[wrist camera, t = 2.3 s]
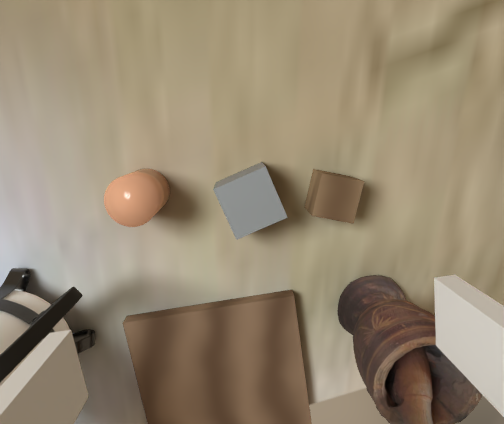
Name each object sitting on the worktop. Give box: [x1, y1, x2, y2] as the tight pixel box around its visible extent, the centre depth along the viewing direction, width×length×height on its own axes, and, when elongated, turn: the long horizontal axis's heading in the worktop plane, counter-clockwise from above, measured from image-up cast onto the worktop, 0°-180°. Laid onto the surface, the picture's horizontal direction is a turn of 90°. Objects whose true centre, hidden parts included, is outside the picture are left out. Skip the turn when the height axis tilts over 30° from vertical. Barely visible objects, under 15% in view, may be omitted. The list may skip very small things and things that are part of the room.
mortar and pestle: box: [338, 275, 482, 424], centre depth 31 cm, size 12×9×20 cm
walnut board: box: [123, 290, 312, 424], centre depth 41 cm, size 18×16×2 cm
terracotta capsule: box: [104, 169, 170, 227], centre depth 34 cm, size 4×4×6 cm
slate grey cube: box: [213, 162, 288, 239], centre depth 35 cm, size 5×5×5 cm
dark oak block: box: [305, 169, 364, 223], centre depth 36 cm, size 4×4×4 cm
